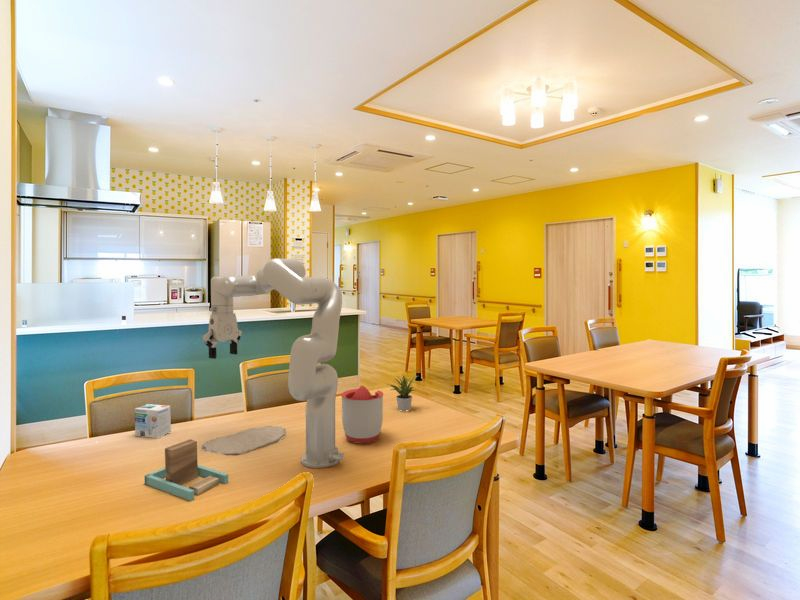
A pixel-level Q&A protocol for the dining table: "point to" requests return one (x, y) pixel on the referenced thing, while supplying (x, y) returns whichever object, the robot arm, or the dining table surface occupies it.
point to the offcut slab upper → (204, 485)
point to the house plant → (403, 393)
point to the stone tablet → (245, 440)
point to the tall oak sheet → (181, 462)
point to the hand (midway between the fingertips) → (223, 356)
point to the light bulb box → (152, 420)
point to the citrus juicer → (362, 415)
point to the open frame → (178, 490)
